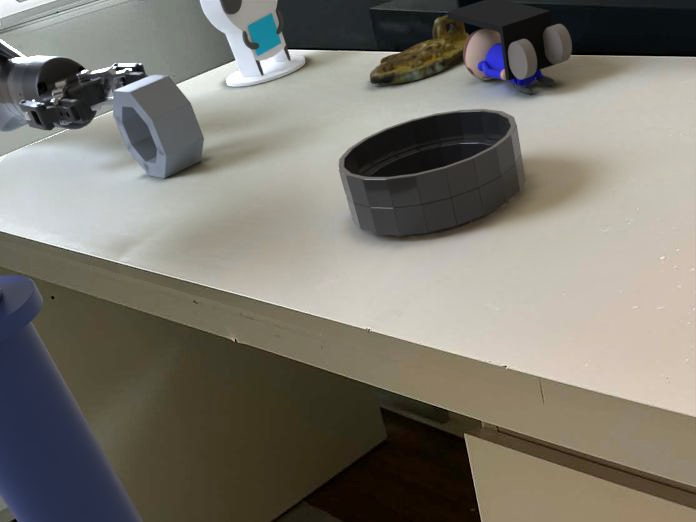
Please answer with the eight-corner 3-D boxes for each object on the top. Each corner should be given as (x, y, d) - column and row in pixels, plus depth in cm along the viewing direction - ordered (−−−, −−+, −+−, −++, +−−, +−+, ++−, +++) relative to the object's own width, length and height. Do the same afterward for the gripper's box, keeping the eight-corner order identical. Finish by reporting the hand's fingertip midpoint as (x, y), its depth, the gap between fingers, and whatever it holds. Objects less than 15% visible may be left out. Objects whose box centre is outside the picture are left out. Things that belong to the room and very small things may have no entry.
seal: (399, 101, 110) (493, 56, 116) (391, 56, 107) (488, 12, 112) (353, 86, 116) (444, 43, 121) (343, 43, 112) (438, 1, 117)
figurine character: (580, 96, 100) (500, 63, 108) (576, 14, 94) (492, -14, 103) (528, 117, 98) (452, 83, 107) (521, 35, 92) (441, 6, 101)
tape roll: (137, 173, 107) (101, 89, 101) (173, 156, 109) (140, 73, 103) (176, 180, 102) (141, 93, 96) (213, 162, 104) (181, 76, 98)
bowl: (386, 259, 75) (369, 195, 71) (335, 209, 85) (318, 151, 82) (555, 197, 77) (546, 132, 73) (485, 156, 88) (474, 97, 84)
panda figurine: (266, 86, 125) (223, -50, 114) (207, 89, 130) (160, -41, 120) (321, 56, 131) (285, -76, 121) (262, 60, 137) (223, -66, 126)
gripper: (-18, 78, 109) (41, 83, 99) (87, 37, 115) (153, 38, 105) (16, 147, 114) (76, 157, 105) (116, 104, 120) (181, 111, 111)
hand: (115, 98), depth 105 cm, fingers open, 8 cm apart
